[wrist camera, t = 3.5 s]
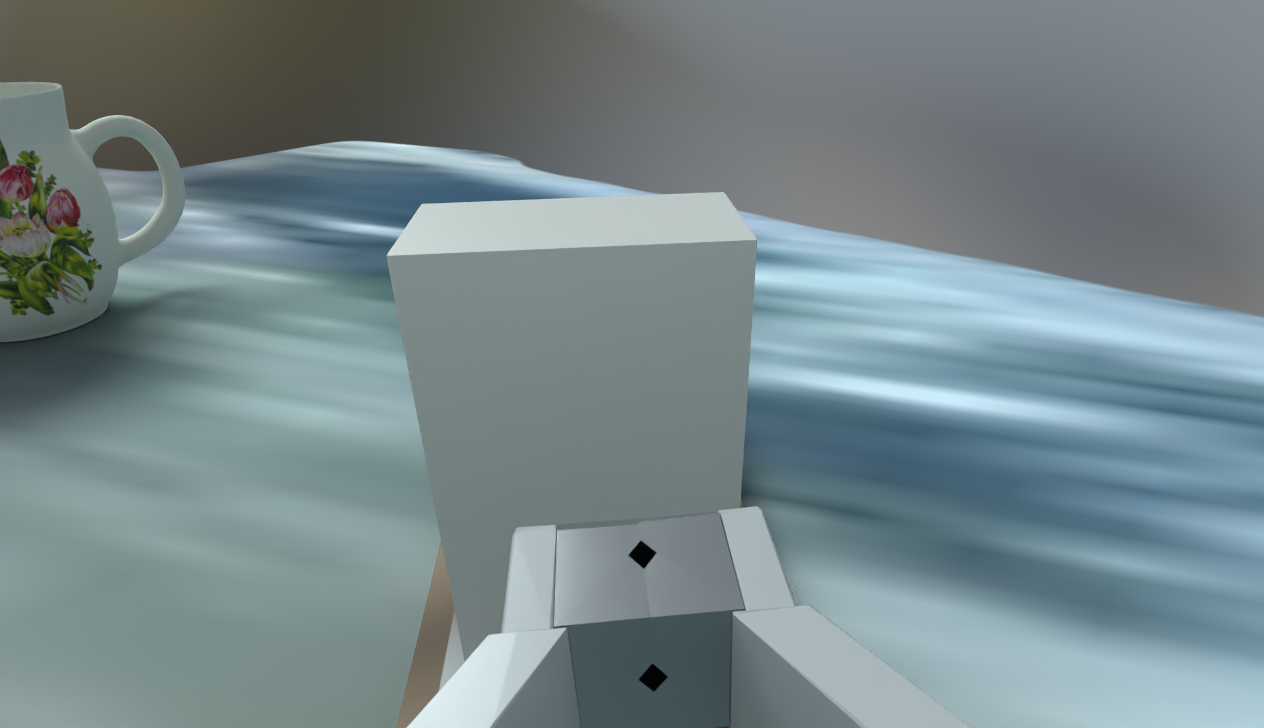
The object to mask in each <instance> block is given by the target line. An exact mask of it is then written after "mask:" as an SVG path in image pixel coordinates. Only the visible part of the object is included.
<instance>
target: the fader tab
mask: <svg viewBox="0 0 1264 728" xmlns="http://www.w3.org/2000/svg"><path fill="white" fill-rule="evenodd" d="M756 251H757V239H756V237H755V236H754V235H753V233H752V232H751V230H750V229H749V227H748V226H747V224H746V223H745V222H744V220H743V219H742V217H741V216H740V214H739V213H738V212H737V210H736V209H735V207H734V206H733V204H732V203H731V202H730V200H729V199H728V197H727V196H726V194H725V193H724V192H717V193H693V194H665V195H639V196H614V197H589V198H564V199H538V200H513V201H488V202H462V203H437V204H422V205H421V206H420V207H419V209H418V210H417V212H416V213H415V215H414V216H413V218H412V219H411V221H410V222H409V224H408V225H407V226H406V228H405V229H404V231H403V232H402V234H401V235H400V237H399V238H398V240H397V241H396V243H395V244H394V245H393V247H392V248H391V250H390V251H389V253H388V254H387V261H388V267H389V272H390V277H391V282H392V287H393V292H394V298H395V303H396V308H397V313H398V318H399V324H400V329H401V334H402V339H403V344H404V350H405V355H406V360H407V365H408V370H409V376H410V381H411V386H412V391H413V396H414V401H415V407H416V412H417V417H418V422H419V427H420V433H421V438H422V443H423V448H424V453H425V459H426V464H427V469H428V474H429V479H430V485H431V490H432V495H433V500H434V505H435V510H436V516H437V521H438V526H439V531H440V536H441V542H442V547H443V552H444V557H445V562H446V568H447V573H448V578H449V583H450V588H451V594H452V599H453V604H454V609H455V614H456V619H457V625H458V630H459V635H460V640H461V645H462V651H463V656H464V661H466V660H467V658H468V657H469V656H470V655H471V654H472V653H473V652H474V650H475V649H476V648H477V647H478V646H479V645H480V644H481V643H482V641H483V640H484V639H485V638H486V637H487V636H488V635H491V634H500V633H501V632H502V623H503V614H504V606H505V597H506V589H507V580H508V571H509V563H510V554H511V545H512V537H513V534H514V532H515V530H516V528H517V527H530V526H545V525H557V526H558V524H565V523H581V522H596V521H612V520H627V519H642V518H653V517H664V516H674V515H685V514H695V513H706V512H718V510H727V509H736V508H740V501H741V486H742V470H743V454H744V439H745V423H746V407H747V392H748V376H749V360H750V345H751V329H752V313H753V298H754V282H755V266H756Z"/></svg>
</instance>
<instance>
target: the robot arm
mask: <svg viewBox="0 0 1264 728" xmlns="http://www.w3.org/2000/svg"><path fill="white" fill-rule="evenodd" d="M715 727H730V728H971V727H969V726H968V725H967V724H965V723H964V722H963V721H961V720H960V719H959V718H958V717H956V716H955V715H954V714H952V713H951V712H950V711H948V710H947V709H946V708H944V707H943V706H942V705H940V704H939V703H938V702H936V701H935V700H934V699H932V698H931V697H930V696H929V695H927V694H926V693H925V692H923V691H922V690H921V689H919V688H918V687H917V686H915V685H914V684H913V683H911V682H910V681H909V680H907V679H906V678H905V677H903V676H902V675H901V674H900V673H898V672H897V671H896V670H894V669H893V668H892V667H890V666H889V665H888V664H886V663H885V662H884V661H882V660H881V659H880V658H878V657H877V656H876V655H874V654H873V653H872V652H871V651H869V650H868V649H867V648H865V647H864V646H863V645H861V644H860V643H859V642H857V641H856V640H855V639H853V638H852V637H851V636H849V635H848V634H847V633H845V632H844V631H843V630H841V629H840V628H839V627H838V626H836V625H835V624H834V623H832V622H831V621H830V620H828V619H827V618H826V617H824V616H823V615H822V614H820V613H819V612H818V611H816V610H815V609H814V608H812V607H811V606H810V605H803V606H796V603H795V601H794V598H793V595H792V592H791V589H790V587H789V584H788V581H787V578H786V575H785V573H784V570H783V567H782V564H781V561H780V559H779V556H778V553H777V550H776V547H775V545H774V542H773V539H772V536H771V533H770V531H769V528H768V525H767V522H766V519H765V517H764V514H763V511H762V510H761V509H760V508H759V507H758V506H755V507H746V508H736V509H727V510H718V512H706V513H695V514H685V515H674V516H664V517H653V518H642V519H627V520H612V521H596V522H581V523H565V524H558V526H557V525H545V526H530V527H517V528H516V530H515V532H514V534H513V537H512V545H511V554H510V563H509V571H508V580H507V589H506V597H505V606H504V614H503V623H502V632H501V633H500V634H491V635H488V636H487V637H486V638H485V639H484V640H483V641H482V643H481V644H480V645H479V646H478V647H477V648H476V649H475V650H474V652H473V653H472V654H471V655H470V656H469V657H468V658H467V660H466V661H465V662H464V663H463V664H462V665H461V666H460V668H459V669H458V670H457V671H456V672H455V673H454V674H453V675H452V677H451V678H450V679H449V680H448V681H447V682H446V683H445V685H444V686H443V687H442V688H441V689H440V690H439V691H438V693H437V694H436V695H435V696H434V697H433V698H432V699H431V700H430V702H429V703H428V704H427V705H426V706H425V707H424V708H423V710H422V711H421V712H420V713H419V714H418V715H417V716H416V718H415V719H414V720H413V721H412V722H411V723H410V724H409V725H408V727H407V728H715Z"/></svg>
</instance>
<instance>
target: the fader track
mask: <svg viewBox="0 0 1264 728" xmlns="http://www.w3.org/2000/svg"><path fill="white" fill-rule="evenodd" d="M740 508H744V506H743V503H742V500H741V501H740ZM464 662H465V661H464V656H463V651H462V645H461V640H460V635H459V630H458V625H457V619H456V614H455V609H454V604H453V599H452V594H451V588H450V583H449V578H448V573H447V568H446V562H445V557H444V552H443V547H442V542H441V544H440V548H439V552H438V557H437V561H436V565H435V569H434V573H433V577H432V582H431V586H430V590H429V594H428V598H427V602H426V607H425V611H424V615H423V619H422V623H421V628H420V632H419V636H418V640H417V644H416V648H415V653H414V657H413V661H412V665H411V669H410V673H409V678H408V682H407V686H406V690H405V694H404V699H403V703H402V707H401V711H400V715H399V719H398V724H397V728H407V727H408V725H409V724H410V723H411V722H412V721H413V720H414V719H415V718H416V716H417V715H418V714H419V713H420V712H421V711H422V710H423V708H424V707H425V706H426V705H427V704H428V703H429V702H430V700H431V699H432V698H433V697H434V696H435V695H436V694H437V693H438V691H439V690H440V689H441V688H442V687H443V686H444V685H445V683H446V682H447V681H448V680H449V679H450V678H451V677H452V675H453V674H454V673H455V672H456V671H457V670H458V669H459V668H460V666H461V665H462V664H463V663H464ZM715 728H730V727H715Z"/></svg>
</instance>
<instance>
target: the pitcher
mask: <svg viewBox="0 0 1264 728" xmlns="http://www.w3.org/2000/svg"><path fill="white" fill-rule="evenodd" d="M118 136H128V137H131V138H134V139H136V140H138V141H139V142H141V143H142V144H143V145H144V146H145V147H146V148H147V149H148V151H149V152H150V153H151V154H152V156H153V158H154V159H155V161H156V163H157V165H158V167H159V171H160V174H161V177H162V183H163V198H162V201H161V205H160V207H159V208H158V210H157V212H156V213H155V215H154V216H153V217H152V219H151V220H150V221H149V222H148V223H147V224H146V225H145V226H144V227H143V228H142V229H141V230H139V231H138V232H137V233H135V234H133V235H131V236H129V237H127V238H124V239H118V233H117V225H116V217H115V213H114V209H113V206H112V202H111V199H110V196H109V194H108V191H107V188H106V186H105V184H104V182H103V180H102V177H101V175H100V173H99V172H98V170H97V168H96V167H95V165H94V164H93V158H92V156H93V154H94V153H95V151H96V149H97V148H98V147H99V145H101V144H102V143H104V142H105V141H107V140H109V139H111V138H114V137H118ZM184 204H185V186H184V181H183V175H182V172H181V169H180V166H179V164H178V161H177V159H176V157H175V155H174V153H173V151H172V149H171V147H170V146H169V145H168V143H167V142H166V141H165V140H164V138H163V137H162V136H161V135H160V134H159V133H158V132H157V131H156V130H155V129H154V128H152V127H151V126H149V125H148V124H146V123H145V122H143V121H141V120H138V119H135V118H133V117H129V116H121V115H115V116H107V117H103V118H100V119H97V120H95V121H93V122H91V123H89V124H88V125H86V126H85V127H83V128H81V129H78V130H70V129H69V126H68V121H67V115H66V109H65V102H64V94H63V90H62V86H61V85H59V84H55V83H44V82H12V83H0V342H15V341H24V340H31V339H36V338H42V337H46V336H50V335H54V334H58V333H61V332H65V331H68V330H71V329H74V328H76V327H79V326H81V325H84V324H86V323H88V322H90V321H92V320H94V319H95V318H97V317H99V316H100V315H101V314H103V313H104V312H105V311H106V310H107V308H108V302H109V300H110V298H111V297H112V294H113V292H114V289H115V287H116V282H117V277H118V268H119V267H120V266H122V265H123V264H125V263H127V262H129V261H131V260H133V259H135V258H137V257H139V256H141V255H143V254H145V253H147V252H148V251H150V250H152V249H153V248H155V247H156V246H158V245H159V244H160V243H162V242H163V241H164V240H165V239H166V238H167V237H168V236H169V235H170V233H171V232H172V231H173V229H174V228H175V226H176V225H177V223H178V221H179V219H180V217H181V215H182V212H183V208H184Z"/></svg>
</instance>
